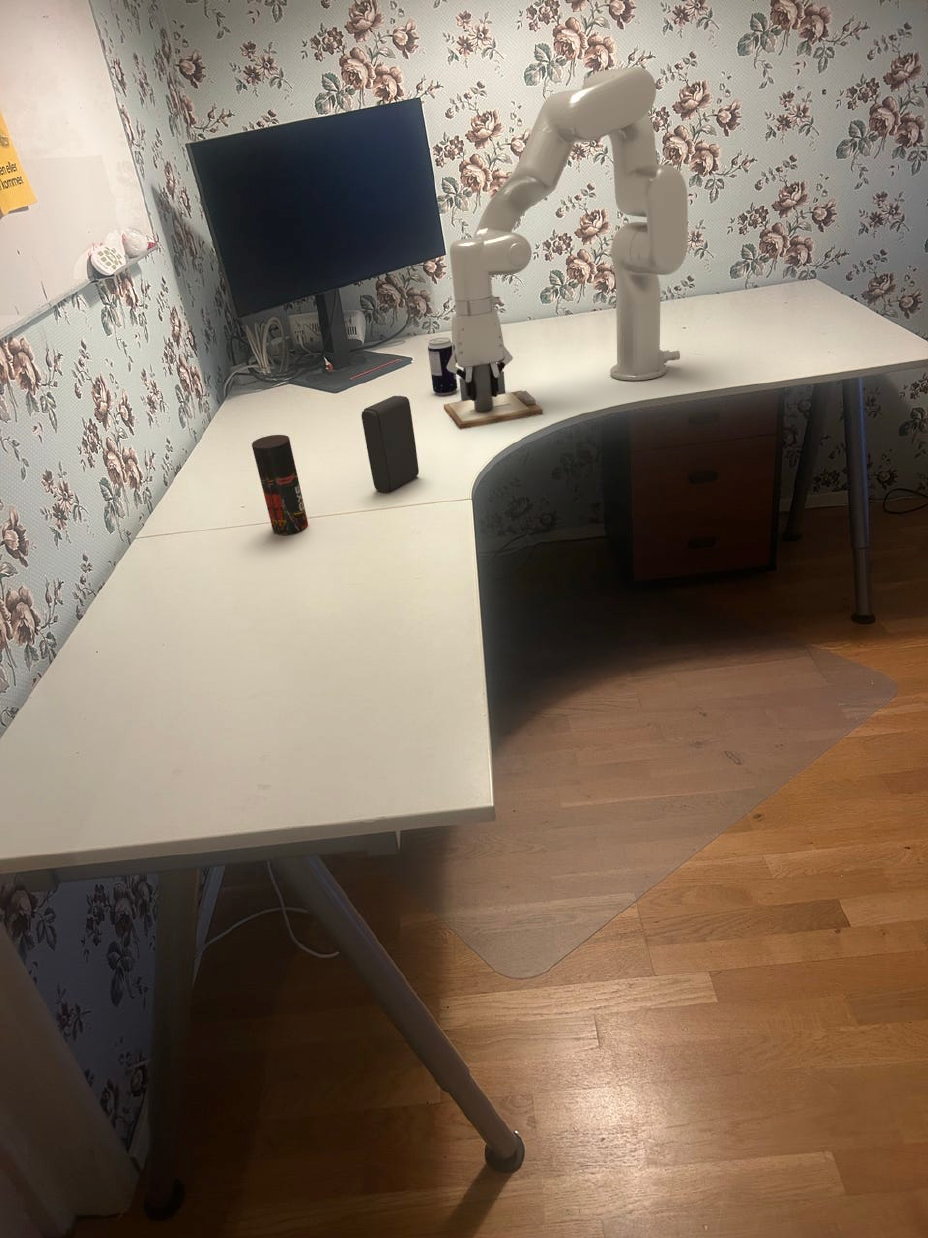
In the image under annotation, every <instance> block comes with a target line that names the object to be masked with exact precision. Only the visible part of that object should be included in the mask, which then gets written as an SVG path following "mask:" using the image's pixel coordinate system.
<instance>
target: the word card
mask: <svg viewBox="0 0 928 1238" xmlns="http://www.w3.org/2000/svg"><path fill="white" fill-rule="evenodd" d="M471 378H472V377H471ZM458 379H459V389H460V396H461V397H460V398H461V400H460V401H466V400H471V399H470V398H469V397H468V396H467V394H466V386H465V380H464V379H462V378H461V377H459V378H458ZM498 387H499V391H497V395H499V394H505V393H506V383H505V372H504V370H502V371H501V373H500V374H499V377H498Z"/></svg>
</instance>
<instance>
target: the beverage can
mask: <svg viewBox="0 0 928 1238" xmlns="http://www.w3.org/2000/svg"><path fill="white" fill-rule="evenodd" d="M427 351H428V353H427V354H428V361H429V369H430V376H431V382H432V391H433V392H434V393H435V394H436V395H438V396H440V395H441V396H442V397H443V395H446V396H450V394H451V395H454V394H455V392H456V390H458V381H457V374H455V373H452V372H450V371H449V370H448V369H447V365H448V362H449V360H450V358H451V356H452V354H453V353H452V340H451V338H449V337H437V338H433V339H430V340H429V341H428V346H427Z"/></svg>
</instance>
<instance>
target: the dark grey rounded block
mask: <svg viewBox="0 0 928 1238" xmlns="http://www.w3.org/2000/svg"><path fill="white" fill-rule="evenodd" d="M361 421H362V426H363V427H362V428H363V433H364V439H365V444H366V449H367V456H368V462H369V467H370V472H371V477H372V483H373V486H374V488H375V490H376V491H377V492H382V493H389V492H390V493H391V492H393V491H394V490H396V489H398V488H399V487H400V488H401V486H404V485H405V484H407V483H409V482H411V481H412V480H414V479H416V478H417V476H418V475H419V473H420V471H419V469H420V468H419V462H418V453H417V447H416V446H417V445H416V438H415V431H414V422H413V415H412V409H411V403H410V399H409V398H408V396H405V395H404V396H403V395H393V396H390V397H388V398H386V399H384V400H382V401H379V402H377V403H374V404H373V405H370V406H368V407H365V408H364V409H363V411H362V412H361Z"/></svg>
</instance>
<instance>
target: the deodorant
mask: <svg viewBox="0 0 928 1238" xmlns="http://www.w3.org/2000/svg"><path fill="white" fill-rule="evenodd" d="M251 447H252V451H253V456H254V461H255V464H256V468H257V472H258V476H259V480H260V484H261V488H262V489H261V490H262V492H263V496H264V500H265V501H264V502H265V504H266V508H267V513H268V517H269V520H270V524H271V528H272V532H273V533H274V534H276V535H278V536H290V535H295V534H298V533H301V532H303V531H305V530H306V529H307V528H308V526H309V521H308V516H307V513H306V507H305V503H304V499H303V494H302V490H301V489H302V488H301V485H300V481H299V477H298V471H297V468H296V464H295V459H294V454H293V450H292V449H293V448H292V445H291V440H290V437H289V435H285V434H273V435H271V434H270V435H267V436H263V437H260V438H258V439H255V440H254V441H253V442H252V443H251Z"/></svg>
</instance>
